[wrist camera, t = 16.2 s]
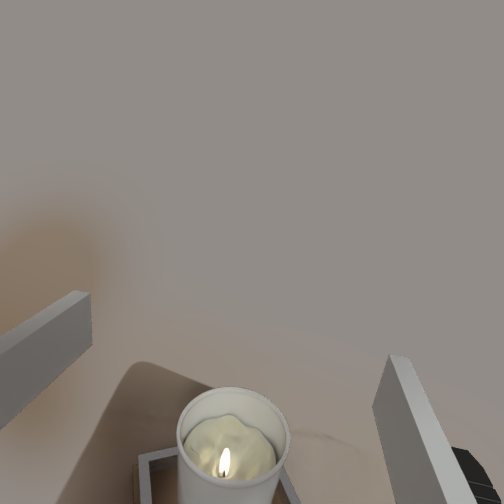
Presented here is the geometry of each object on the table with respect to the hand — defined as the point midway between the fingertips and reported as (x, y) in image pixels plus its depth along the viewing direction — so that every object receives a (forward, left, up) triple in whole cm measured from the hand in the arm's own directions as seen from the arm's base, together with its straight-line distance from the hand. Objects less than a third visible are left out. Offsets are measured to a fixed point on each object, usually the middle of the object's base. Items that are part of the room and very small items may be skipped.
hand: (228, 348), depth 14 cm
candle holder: (-5, -9, -27) cm, 29 cm away
